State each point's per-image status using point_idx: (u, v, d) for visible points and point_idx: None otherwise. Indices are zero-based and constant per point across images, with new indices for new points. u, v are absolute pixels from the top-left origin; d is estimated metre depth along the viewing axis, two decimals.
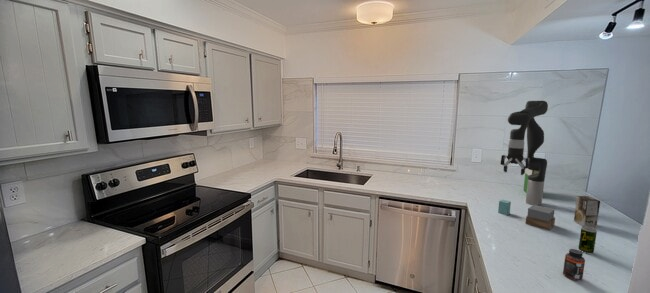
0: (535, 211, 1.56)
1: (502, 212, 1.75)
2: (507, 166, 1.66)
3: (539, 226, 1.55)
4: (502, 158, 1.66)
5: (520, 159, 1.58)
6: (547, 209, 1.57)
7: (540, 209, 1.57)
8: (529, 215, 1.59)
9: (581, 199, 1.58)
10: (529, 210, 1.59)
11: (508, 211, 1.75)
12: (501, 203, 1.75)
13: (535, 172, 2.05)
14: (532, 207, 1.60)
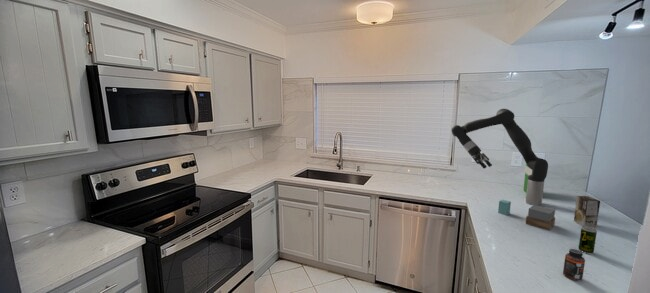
0: (536, 211, 1.56)
1: (502, 212, 1.75)
2: (488, 161, 1.87)
3: (539, 226, 1.55)
4: None
5: None
6: (547, 210, 1.57)
7: (541, 209, 1.57)
8: (530, 215, 1.59)
9: (581, 199, 1.58)
10: (530, 210, 1.59)
11: (508, 211, 1.75)
12: (501, 203, 1.75)
13: None
14: (533, 207, 1.60)
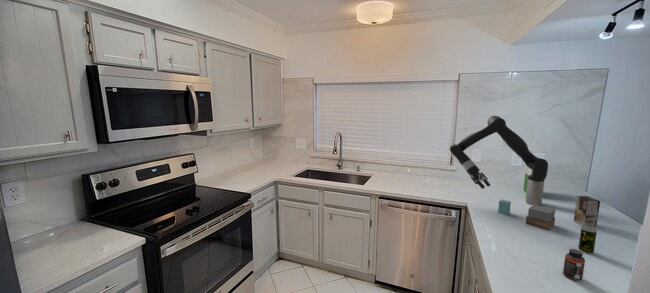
0: (536, 211, 1.56)
1: (502, 212, 1.75)
2: (486, 181, 1.87)
3: (539, 226, 1.55)
4: None
5: None
6: (547, 209, 1.57)
7: (541, 209, 1.57)
8: (529, 215, 1.59)
9: (581, 199, 1.58)
10: (530, 210, 1.59)
11: (508, 211, 1.75)
12: (501, 203, 1.75)
13: None
14: (533, 207, 1.60)
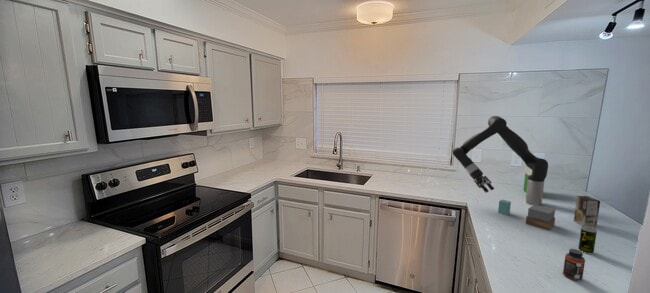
0: (535, 211, 1.56)
1: (502, 212, 1.75)
2: (490, 184, 1.86)
3: (539, 226, 1.55)
4: None
5: None
6: (547, 209, 1.57)
7: (540, 209, 1.57)
8: (529, 215, 1.59)
9: (581, 199, 1.58)
10: (529, 210, 1.59)
11: (508, 211, 1.75)
12: (501, 203, 1.75)
13: None
14: (532, 207, 1.61)
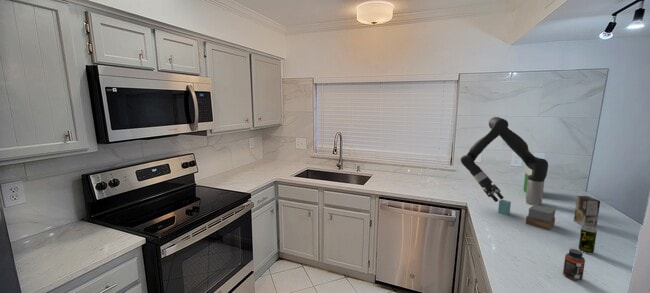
0: (536, 211, 1.56)
1: (502, 212, 1.75)
2: (499, 193, 1.82)
3: (539, 226, 1.55)
4: None
5: None
6: (547, 209, 1.57)
7: (541, 209, 1.57)
8: (530, 215, 1.59)
9: (581, 199, 1.58)
10: (530, 210, 1.59)
11: (508, 211, 1.75)
12: (501, 203, 1.75)
13: None
14: (533, 207, 1.60)
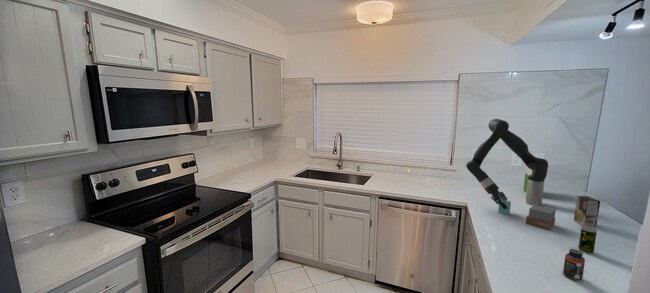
0: (536, 211, 1.56)
1: (502, 212, 1.75)
2: None
3: (539, 226, 1.55)
4: None
5: None
6: (548, 209, 1.57)
7: (541, 209, 1.57)
8: (530, 215, 1.59)
9: (581, 199, 1.58)
10: (530, 210, 1.58)
11: (508, 211, 1.75)
12: None
13: None
14: (533, 207, 1.60)
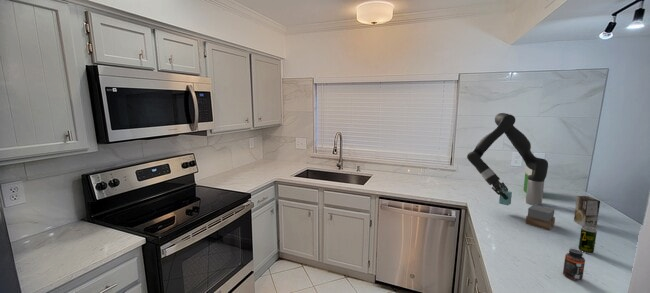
0: (535, 211, 1.57)
1: (503, 203, 1.75)
2: None
3: (539, 226, 1.55)
4: None
5: None
6: (547, 209, 1.57)
7: (540, 209, 1.57)
8: (529, 215, 1.59)
9: (581, 199, 1.58)
10: (529, 210, 1.59)
11: (509, 201, 1.74)
12: None
13: None
14: (532, 207, 1.61)
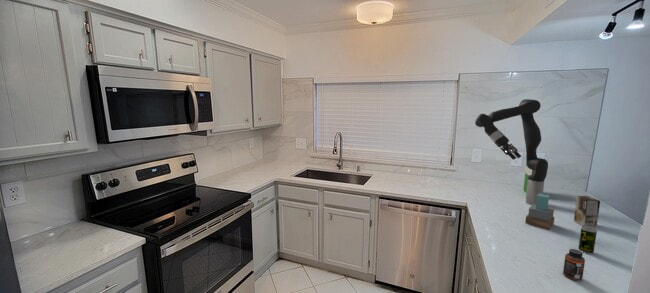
0: (536, 211, 1.57)
1: (541, 208, 1.57)
2: (517, 152, 1.75)
3: (539, 225, 1.56)
4: None
5: None
6: (547, 209, 1.58)
7: None
8: (530, 215, 1.59)
9: (581, 199, 1.58)
10: (530, 210, 1.59)
11: (547, 206, 1.57)
12: (540, 198, 1.57)
13: None
14: (532, 207, 1.61)
